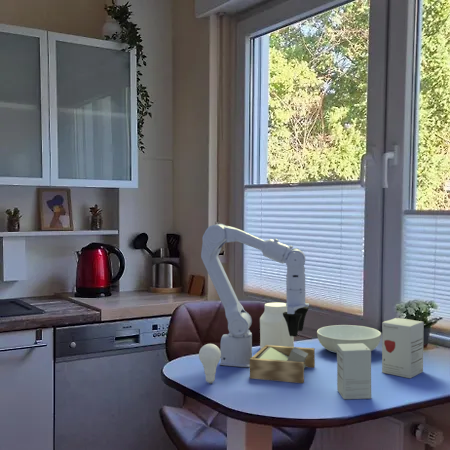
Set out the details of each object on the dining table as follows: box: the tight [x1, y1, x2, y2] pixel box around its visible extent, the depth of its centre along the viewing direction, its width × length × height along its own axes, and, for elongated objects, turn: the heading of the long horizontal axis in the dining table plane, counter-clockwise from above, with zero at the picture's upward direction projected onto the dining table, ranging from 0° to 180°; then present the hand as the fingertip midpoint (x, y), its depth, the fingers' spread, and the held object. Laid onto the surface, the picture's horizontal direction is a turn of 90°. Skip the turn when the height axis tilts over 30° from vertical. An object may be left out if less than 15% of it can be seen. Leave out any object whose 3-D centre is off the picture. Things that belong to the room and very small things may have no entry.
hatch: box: [257, 347, 306, 369], centre depth 173 cm, size 12×13×1 cm
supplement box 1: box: [336, 343, 372, 400], centre depth 152 cm, size 7×7×13 cm
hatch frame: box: [249, 345, 316, 384], centre depth 172 cm, size 15×17×6 cm
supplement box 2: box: [381, 317, 425, 379], centre depth 171 cm, size 9×9×15 cm
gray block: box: [287, 346, 308, 363], centre depth 171 cm, size 4×4×5 cm
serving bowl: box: [316, 324, 382, 354], centre depth 195 cm, size 21×21×7 cm
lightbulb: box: [198, 343, 221, 384], centre depth 163 cm, size 6×6×11 cm
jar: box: [259, 301, 295, 350], centre depth 201 cm, size 12×10×15 cm
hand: (296, 333), depth 179 cm, fingers open, 7 cm apart
